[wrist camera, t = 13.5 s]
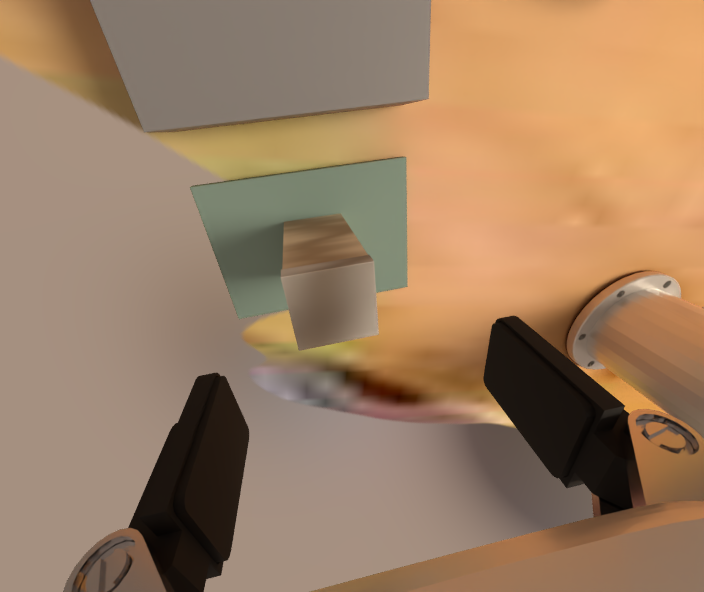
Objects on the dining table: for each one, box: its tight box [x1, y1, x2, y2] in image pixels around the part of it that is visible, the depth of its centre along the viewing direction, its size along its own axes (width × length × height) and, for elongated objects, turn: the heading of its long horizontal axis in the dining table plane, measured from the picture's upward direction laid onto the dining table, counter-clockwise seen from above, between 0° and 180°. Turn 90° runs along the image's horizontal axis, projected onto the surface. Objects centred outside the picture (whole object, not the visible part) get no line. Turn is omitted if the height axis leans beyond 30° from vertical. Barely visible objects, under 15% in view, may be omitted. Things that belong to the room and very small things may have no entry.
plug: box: [281, 213, 379, 351], centre depth 17 cm, size 4×4×9 cm
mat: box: [190, 157, 407, 319], centre depth 22 cm, size 14×10×1 cm
